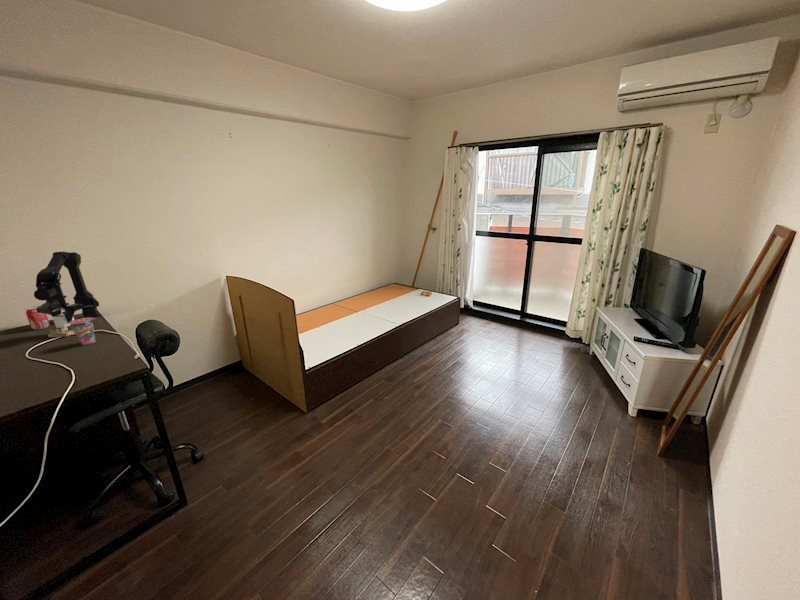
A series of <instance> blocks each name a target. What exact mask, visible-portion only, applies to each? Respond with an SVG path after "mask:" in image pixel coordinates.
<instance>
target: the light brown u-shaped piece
mask: <svg viewBox="0 0 800 600" xmlns="http://www.w3.org/2000/svg"><path fill="white" fill-rule="evenodd" d="M73 333H75V332H74V330H73V329H71V330H69V329H68V326H67V327H64V328H60V329H59V328H56V329H55V330H54V329H53V328H51V329H50V332H49V333H47V336H48V338H60V337H61V338H62V337H63V336H64V337H70V336H72V335H74V334H73ZM71 334H72V335H71ZM69 335H70V336H69ZM64 337H63V338H64Z"/></svg>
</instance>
